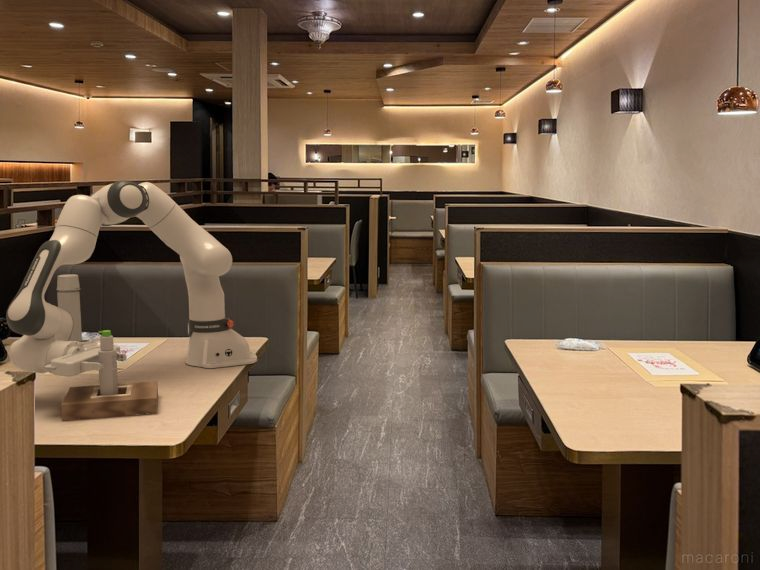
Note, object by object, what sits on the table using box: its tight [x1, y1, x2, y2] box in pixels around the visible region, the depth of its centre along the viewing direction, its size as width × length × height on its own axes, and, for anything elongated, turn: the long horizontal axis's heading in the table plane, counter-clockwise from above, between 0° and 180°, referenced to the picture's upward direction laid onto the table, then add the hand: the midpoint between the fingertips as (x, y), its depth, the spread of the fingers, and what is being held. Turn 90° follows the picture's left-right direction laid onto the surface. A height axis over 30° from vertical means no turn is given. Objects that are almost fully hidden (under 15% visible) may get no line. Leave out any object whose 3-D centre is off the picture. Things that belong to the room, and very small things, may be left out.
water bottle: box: [55, 273, 83, 341], centre depth 257 cm, size 9×8×25 cm
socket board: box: [60, 380, 159, 421], centre depth 189 cm, size 22×16×4 cm
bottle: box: [97, 329, 119, 396], centre depth 188 cm, size 4×4×20 cm
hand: (113, 361), depth 187 cm, fingers open, 8 cm apart
